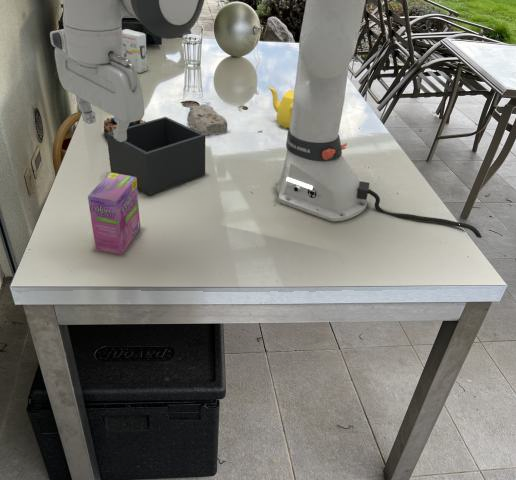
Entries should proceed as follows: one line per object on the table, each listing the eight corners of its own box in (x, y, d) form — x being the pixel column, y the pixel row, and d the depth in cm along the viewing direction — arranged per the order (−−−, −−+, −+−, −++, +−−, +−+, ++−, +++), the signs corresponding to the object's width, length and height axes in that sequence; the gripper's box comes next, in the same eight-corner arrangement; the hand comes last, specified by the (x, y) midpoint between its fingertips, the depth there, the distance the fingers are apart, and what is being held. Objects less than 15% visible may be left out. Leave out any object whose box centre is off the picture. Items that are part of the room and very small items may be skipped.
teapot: (283, 136, 155) (287, 99, 148) (264, 119, 163) (267, 84, 156) (323, 131, 160) (329, 95, 153) (303, 116, 168) (308, 81, 161)
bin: (205, 175, 133) (205, 135, 126) (149, 196, 123) (146, 154, 116) (167, 155, 139) (165, 116, 133) (111, 174, 129) (106, 132, 123)
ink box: (119, 68, 189) (116, 31, 181) (128, 65, 193) (125, 28, 185) (139, 73, 187) (137, 36, 179) (148, 70, 190) (146, 33, 182)
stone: (232, 124, 150) (198, 123, 146) (228, 142, 154) (195, 142, 150) (218, 99, 157) (185, 97, 153) (214, 117, 161) (183, 116, 157)
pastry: (99, 132, 147) (96, 111, 143) (140, 126, 152) (138, 105, 148) (114, 148, 140) (112, 125, 136) (156, 141, 146) (155, 119, 142)
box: (122, 255, 104) (116, 200, 96) (95, 250, 105) (86, 195, 97) (141, 229, 112) (137, 176, 104) (115, 224, 113) (109, 171, 105)
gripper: (151, 59, 82) (155, 147, 91) (77, 26, 91) (88, 109, 101) (116, 65, 78) (124, 156, 88) (43, 31, 88) (58, 116, 97)
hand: (104, 130), depth 94 cm, fingers open, 8 cm apart
